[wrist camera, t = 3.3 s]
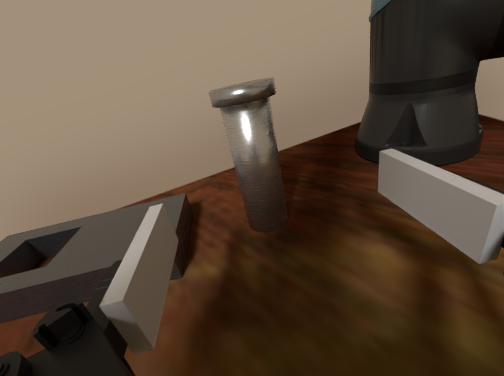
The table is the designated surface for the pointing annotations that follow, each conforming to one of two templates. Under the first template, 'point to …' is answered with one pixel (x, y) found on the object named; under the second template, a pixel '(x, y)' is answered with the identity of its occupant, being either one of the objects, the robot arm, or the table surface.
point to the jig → (77, 256)
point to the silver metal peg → (254, 150)
